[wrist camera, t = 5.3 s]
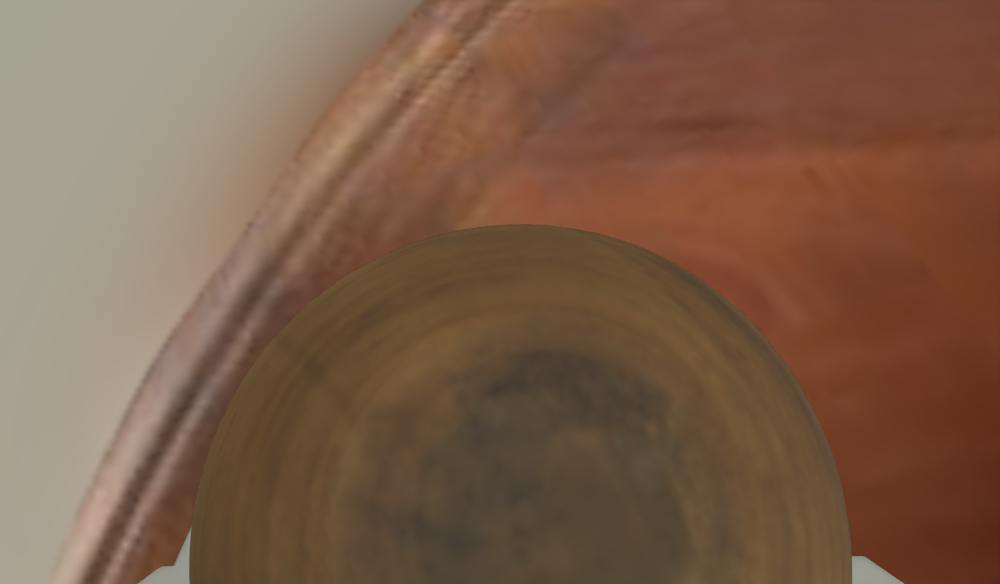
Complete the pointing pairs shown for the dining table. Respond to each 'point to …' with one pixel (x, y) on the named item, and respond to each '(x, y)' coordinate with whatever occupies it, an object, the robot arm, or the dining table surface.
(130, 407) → the dining table surface
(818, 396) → the dining table surface
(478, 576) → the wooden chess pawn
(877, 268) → the dining table surface
